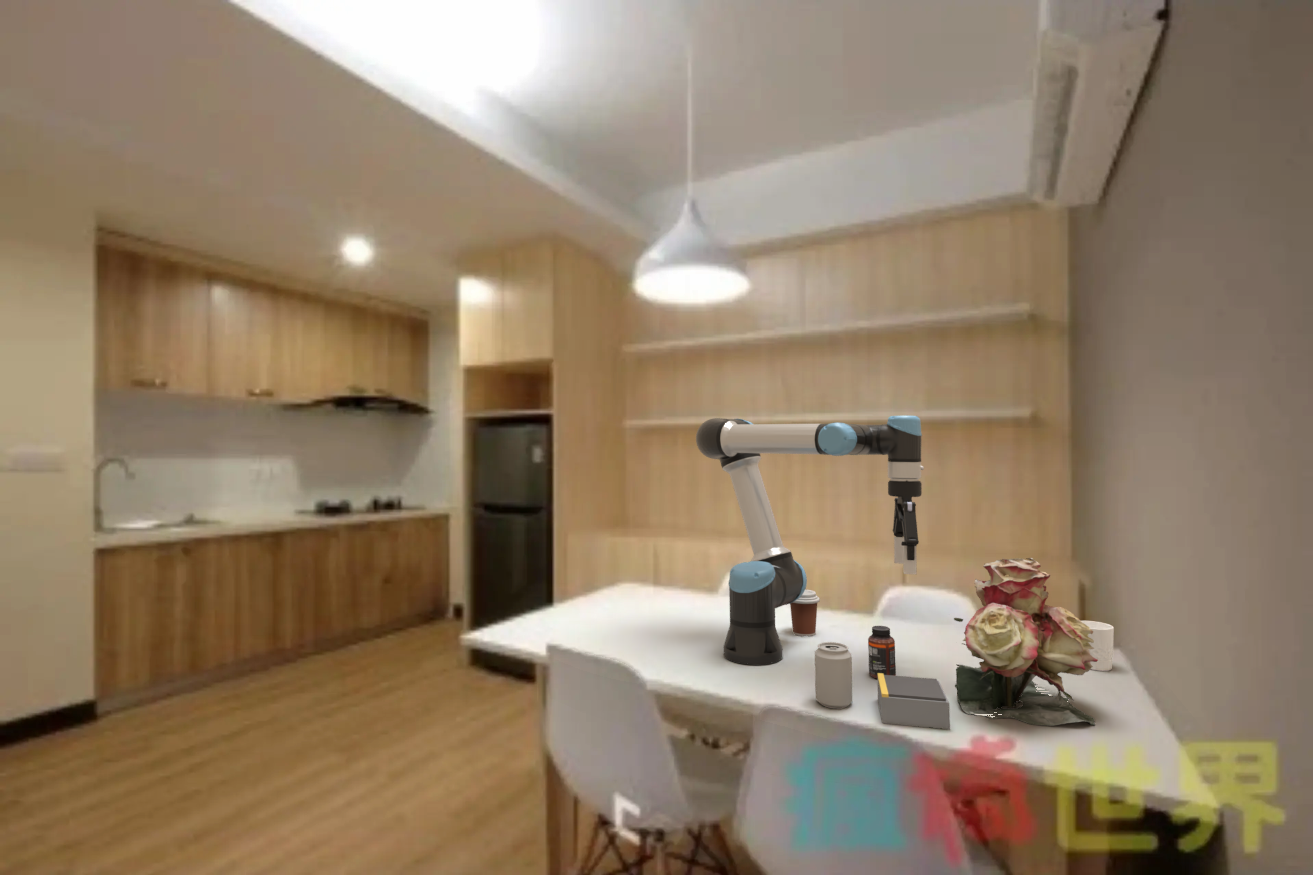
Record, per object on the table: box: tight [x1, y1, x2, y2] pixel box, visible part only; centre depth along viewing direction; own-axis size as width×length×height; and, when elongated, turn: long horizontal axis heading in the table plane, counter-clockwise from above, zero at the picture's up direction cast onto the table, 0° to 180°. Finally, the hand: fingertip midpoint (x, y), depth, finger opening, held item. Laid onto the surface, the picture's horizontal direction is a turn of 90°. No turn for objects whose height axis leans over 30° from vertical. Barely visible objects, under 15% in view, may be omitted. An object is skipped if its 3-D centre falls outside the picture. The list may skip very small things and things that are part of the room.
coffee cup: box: [789, 589, 821, 637], centre depth 185 cm, size 9×9×12 cm
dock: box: [877, 673, 951, 730], centre depth 127 cm, size 12×12×6 cm
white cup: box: [1080, 620, 1115, 672], centre depth 154 cm, size 8×8×10 cm
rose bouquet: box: [953, 557, 1098, 727], centre depth 132 cm, size 26×29×30 cm
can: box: [814, 641, 853, 710], centre depth 133 cm, size 8×8×12 cm
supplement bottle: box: [867, 625, 897, 680], centre depth 149 cm, size 6×6×11 cm
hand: (904, 568), depth 153 cm, fingers open, 13 cm apart
